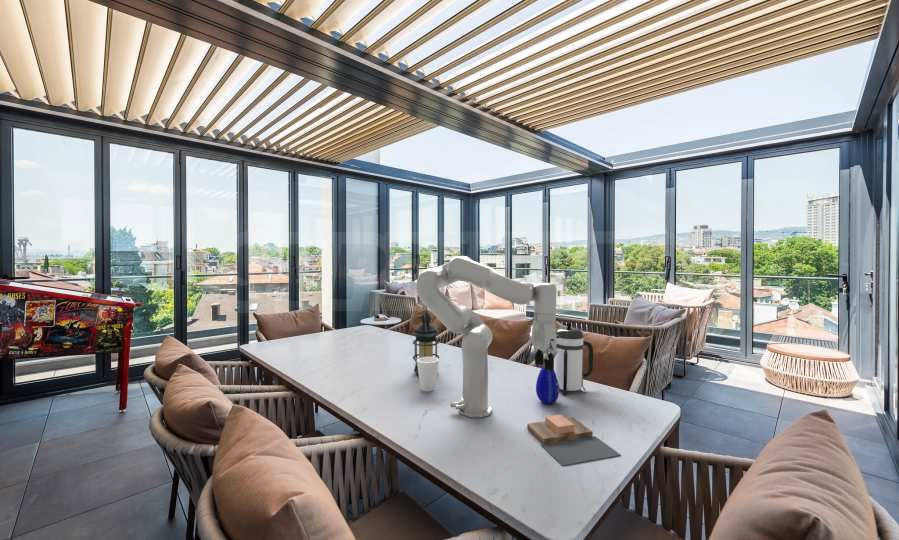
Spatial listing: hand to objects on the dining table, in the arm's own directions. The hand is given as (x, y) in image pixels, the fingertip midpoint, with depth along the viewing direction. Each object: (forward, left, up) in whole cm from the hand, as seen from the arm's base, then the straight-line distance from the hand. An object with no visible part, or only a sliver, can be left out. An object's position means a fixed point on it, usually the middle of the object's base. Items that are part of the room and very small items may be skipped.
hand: (544, 366), depth 139 cm
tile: (0, -11, -18) cm, 20 cm away
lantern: (-29, +63, -20) cm, 72 cm away
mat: (0, -22, -20) cm, 29 cm away
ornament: (+10, +14, -20) cm, 26 cm away
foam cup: (-33, +42, -20) cm, 57 cm away
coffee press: (+27, +24, -20) cm, 41 cm away
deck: (0, -11, -20) cm, 22 cm away
